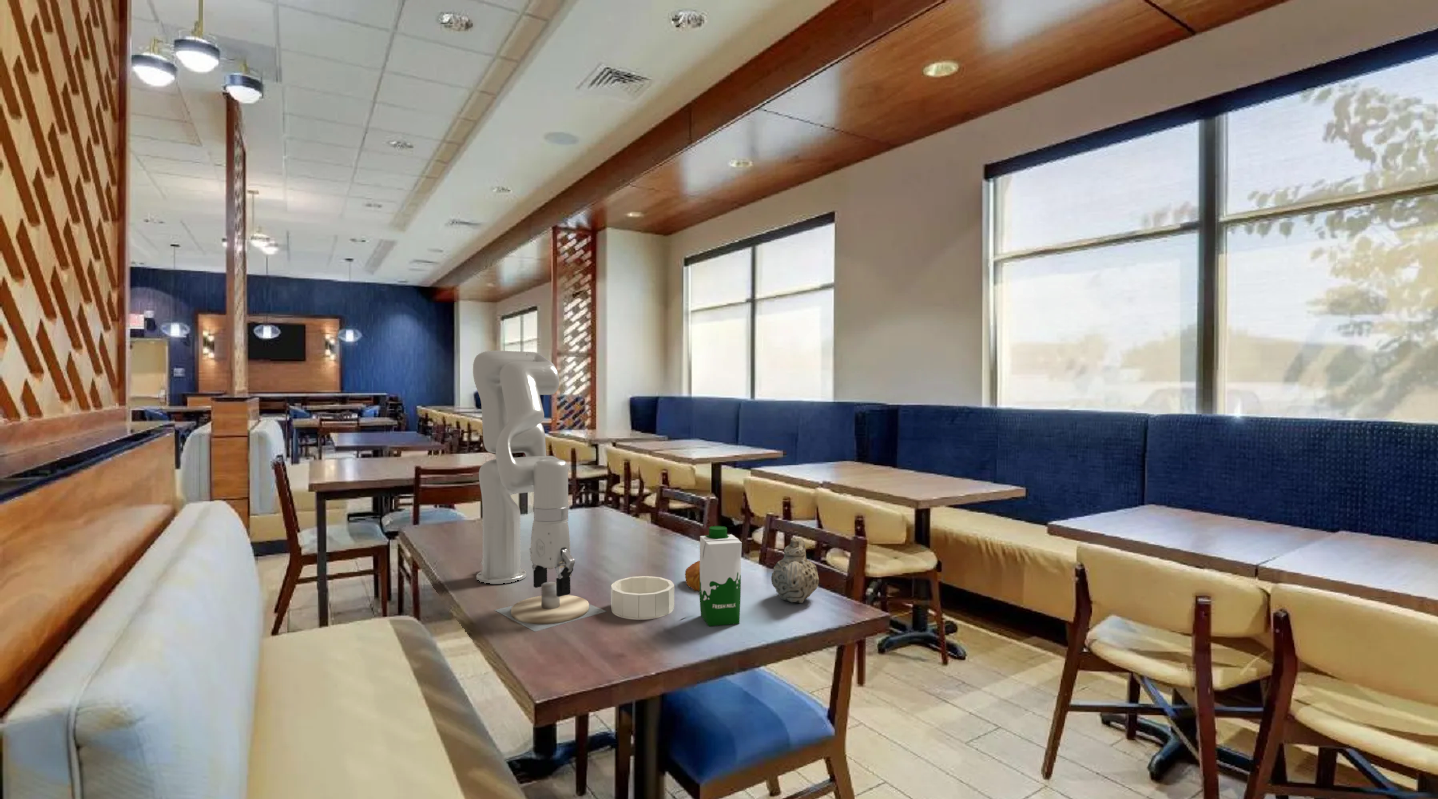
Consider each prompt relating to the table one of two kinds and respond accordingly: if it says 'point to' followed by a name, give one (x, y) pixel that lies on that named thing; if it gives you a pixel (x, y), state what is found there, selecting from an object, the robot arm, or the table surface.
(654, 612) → the bowl
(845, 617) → the table surface
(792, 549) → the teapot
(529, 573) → the table surface
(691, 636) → the table surface
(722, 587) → the milk carton
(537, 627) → the mat
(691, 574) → the croissant
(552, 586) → the lid
